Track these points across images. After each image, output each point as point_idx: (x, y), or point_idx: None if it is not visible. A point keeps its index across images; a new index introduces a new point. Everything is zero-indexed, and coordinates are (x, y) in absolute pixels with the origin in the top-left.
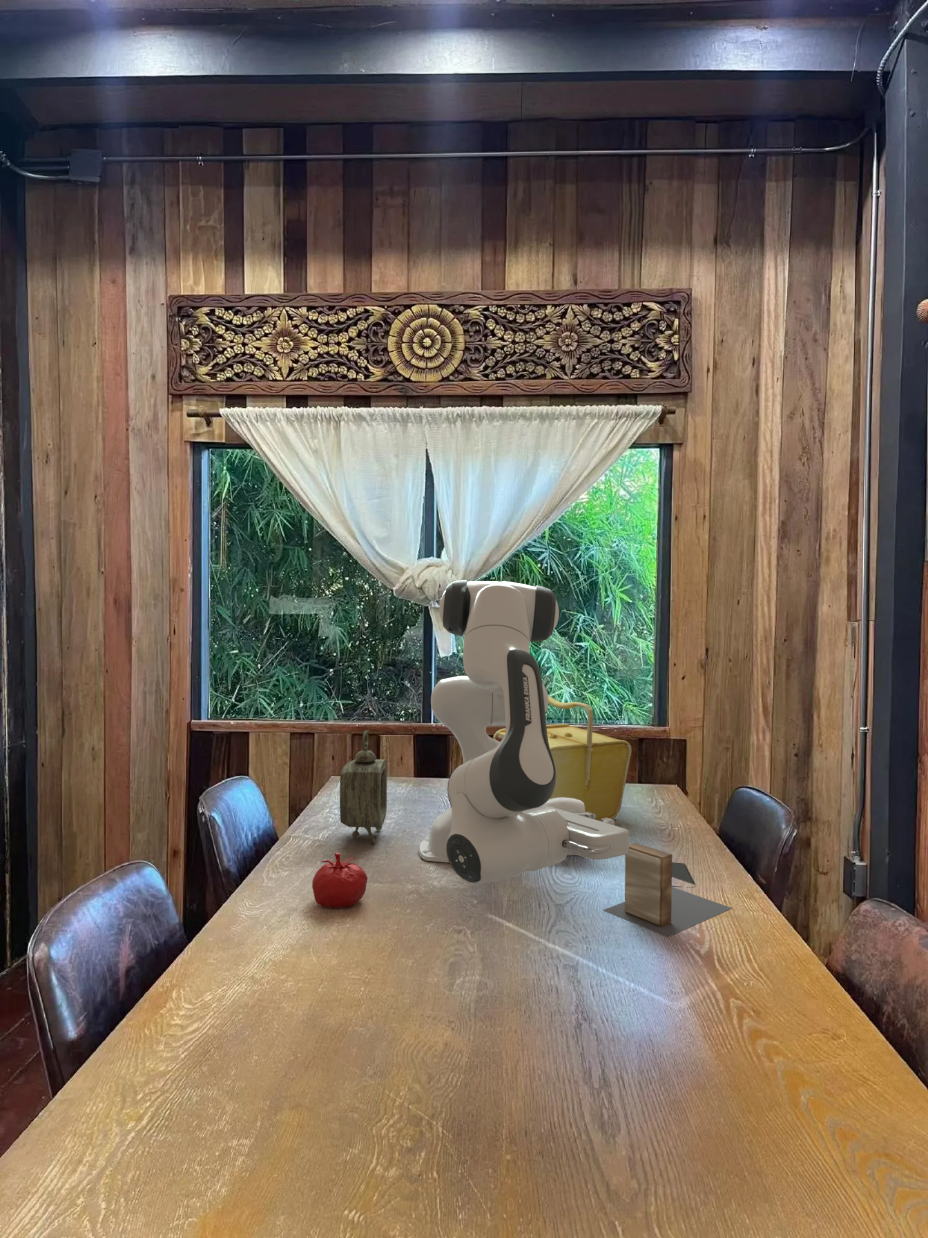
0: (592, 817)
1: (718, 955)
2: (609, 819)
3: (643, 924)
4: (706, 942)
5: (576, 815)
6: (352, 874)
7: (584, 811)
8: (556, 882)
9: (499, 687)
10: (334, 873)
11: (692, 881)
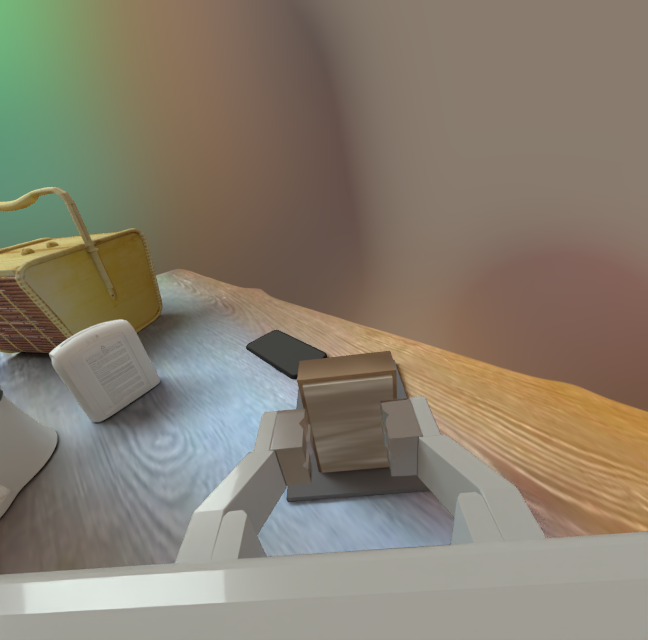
0: (304, 430)
1: (515, 462)
2: (418, 409)
3: (373, 482)
4: (463, 443)
5: (335, 621)
6: None
7: (134, 331)
8: (154, 472)
9: None
10: None
11: (312, 347)
